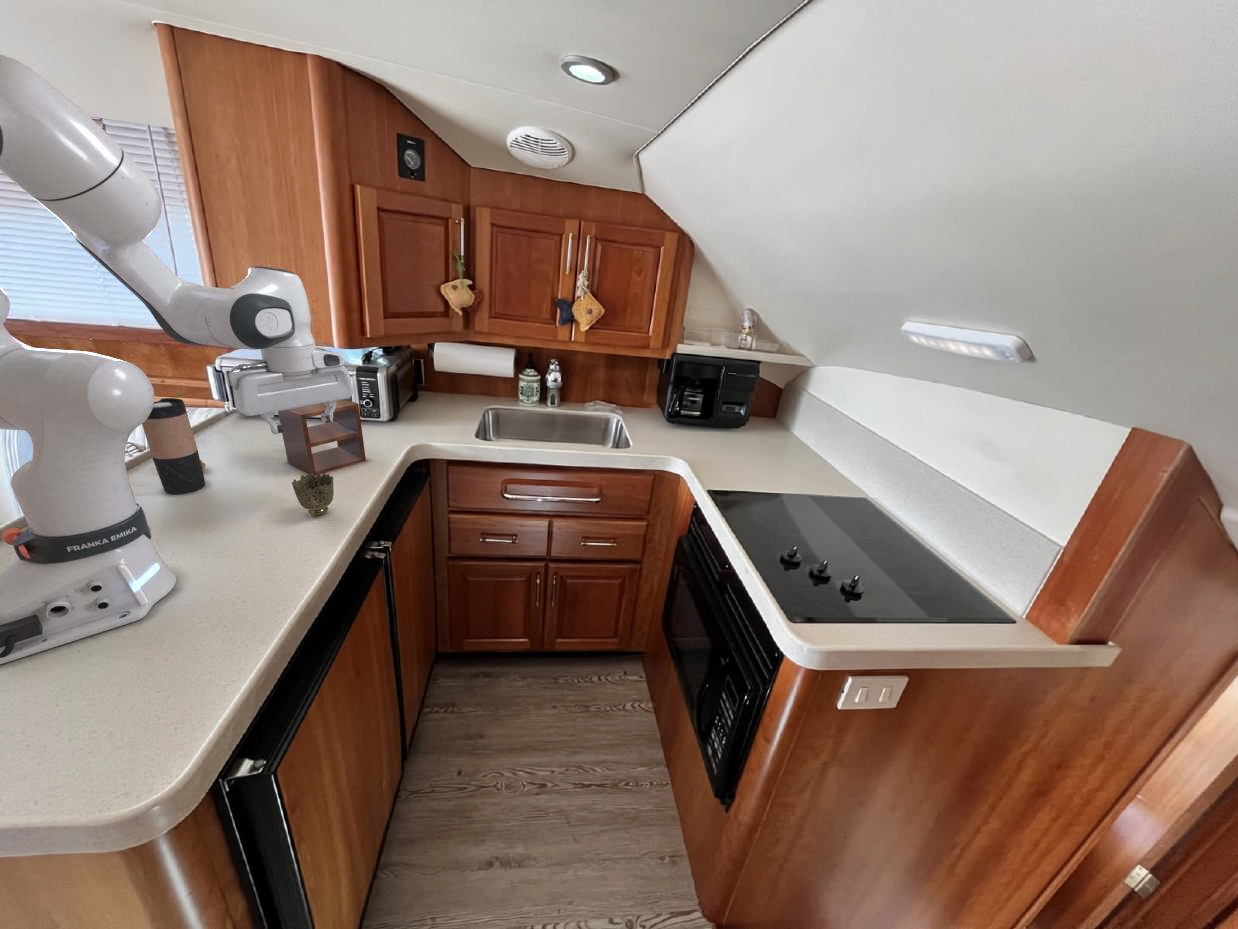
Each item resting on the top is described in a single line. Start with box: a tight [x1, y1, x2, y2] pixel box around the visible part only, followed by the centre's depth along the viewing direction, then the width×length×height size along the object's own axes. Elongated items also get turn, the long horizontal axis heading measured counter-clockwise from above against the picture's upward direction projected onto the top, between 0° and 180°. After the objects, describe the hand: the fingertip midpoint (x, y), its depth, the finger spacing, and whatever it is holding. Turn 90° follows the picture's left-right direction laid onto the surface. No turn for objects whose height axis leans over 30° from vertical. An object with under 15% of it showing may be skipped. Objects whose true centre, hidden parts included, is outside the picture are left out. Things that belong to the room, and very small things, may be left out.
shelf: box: [277, 399, 367, 476], centre depth 126 cm, size 14×12×16 cm
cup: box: [291, 473, 335, 517], centre depth 104 cm, size 8×7×8 cm
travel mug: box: [141, 397, 206, 496], centre depth 107 cm, size 8×8×20 cm
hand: (303, 427), depth 98 cm, fingers open, 8 cm apart
